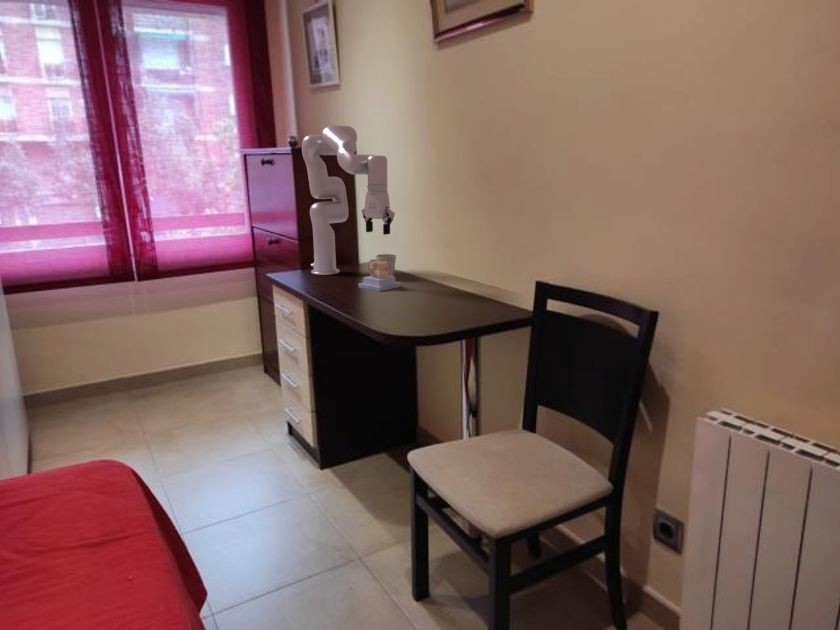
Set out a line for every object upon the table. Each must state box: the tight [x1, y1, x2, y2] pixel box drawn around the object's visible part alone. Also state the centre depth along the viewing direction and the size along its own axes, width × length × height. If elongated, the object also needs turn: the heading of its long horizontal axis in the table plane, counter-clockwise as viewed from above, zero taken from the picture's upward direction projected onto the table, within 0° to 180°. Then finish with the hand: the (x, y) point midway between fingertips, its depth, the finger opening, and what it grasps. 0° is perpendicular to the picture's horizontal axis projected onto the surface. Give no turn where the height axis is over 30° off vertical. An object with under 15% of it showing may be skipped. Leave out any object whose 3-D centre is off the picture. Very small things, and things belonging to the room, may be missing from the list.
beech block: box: [369, 261, 388, 279], centre depth 235 cm, size 5×5×6 cm
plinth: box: [357, 275, 402, 292], centre depth 236 cm, size 12×12×4 cm
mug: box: [366, 253, 397, 277], centre depth 253 cm, size 8×13×10 cm, turn 89°
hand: (377, 233), depth 232 cm, fingers open, 9 cm apart
